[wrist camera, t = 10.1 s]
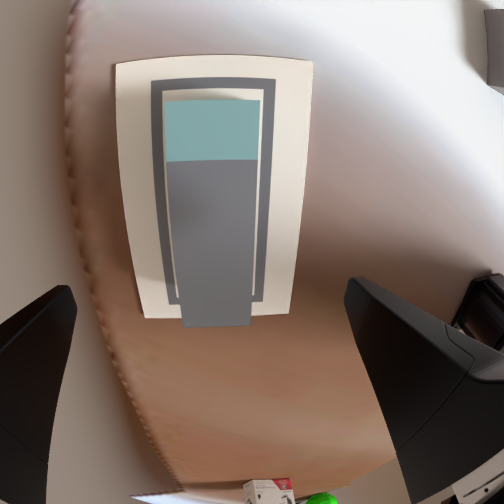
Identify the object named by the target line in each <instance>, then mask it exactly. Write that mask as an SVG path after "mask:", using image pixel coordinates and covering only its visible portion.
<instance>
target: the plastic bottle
mask: <svg viewBox="0 0 504 504" xmlns="http://www.w3.org/2000/svg"><path fill="white" fill-rule="evenodd" d="M306 504H337V500H336V498H335V497H334V496H333V495H330V494H327V493H321V494H317V495H314V496H311V497H310V499H309V500H308V501H307V502H306Z"/></svg>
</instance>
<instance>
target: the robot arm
mask: <svg viewBox="0 0 504 504" xmlns="http://www.w3.org/2000/svg"><path fill="white" fill-rule="evenodd" d="M344 305H345V308H346V312H347V315H348V318H349V322H350V325H351V329H352V332H353V336H354V339H355V342H356V345H357V348H358V350H359V353H360V355H361V358H362V360H363V363H364V365H365V368H366V370H367V373H368V375H369V378H370V381H371V383H372V386H373V389H374V391H375V394H376V397H377V399H378V402H379V405H380V407H381V410H382V413H383V416H384V419H385V422H386V424H387V427H388V430H389V433H390V436H391V439H392V442H393V445H394V448H395V451H396V455H397V458H398V461H399V464H400V467H401V471H402V474H403V477H404V480H405V484H406V487H407V491H408V494H409V498H410V501H411V504H417V503H419V502H421V501H423V500H425V499H427V498H429V497H431V496H433V495H434V494H436V493H438V492H440V491H442V490H443V489H445V488H447V487H449V486H450V485H452V487H453V490H454V492H455V494H454V495H452V496H450V497H449V498H447V499H445V500H444V501H442V502H441V504H504V276H503V275H497V276H491V277H485V278H479V279H474V280H473V281H472V283H471V285H470V287H469V290H468V292H467V294H466V296H465V298H464V300H463V303H462V305H461V307H460V309H459V311H458V313H457V315H456V317H455V319H454V321H453V323H452V325H451V326H450V325H448V324H446V323H445V324H444V322H443V321H441V320H439V319H437V318H436V317H434V316H432V315H431V314H429V313H427V312H425V311H424V310H422V309H420V308H418V307H417V306H415V305H413V304H411V303H409V302H408V301H406V300H404V299H402V298H401V297H399V296H397V295H395V294H393V293H392V292H390V291H388V290H386V289H384V288H383V287H381V286H379V285H377V284H375V283H374V282H372V281H370V280H368V279H366V278H365V277H363V276H355V277H351V278H350V279H349V281H348V284H347V288H346V292H345V296H344ZM76 315H77V305H76V302H75V299H74V297H73V294H72V291H71V289H70V287H69V286H68V285H57V286H56V287H54V288H53V289H51V290H50V291H48V292H47V293H45V294H43V295H42V296H41V297H39V298H37V299H36V300H34V301H33V302H32V303H30V304H29V305H27V306H26V307H24V308H23V309H21V310H20V311H19V312H17V313H16V314H14V315H13V316H11V317H10V318H9V319H7V320H6V321H4V322H3V323H2V324H0V504H46V486H47V472H48V464H47V463H48V460H49V450H50V443H51V436H52V429H53V423H54V417H55V412H56V407H57V402H58V397H59V392H60V387H61V383H62V379H63V374H64V371H65V367H66V363H67V359H68V355H69V351H70V346H71V341H72V335H73V330H74V325H75V320H76ZM460 329H462V330H463V332H464V333H465V334H466V335H465V334H463V333H462V332H460V331H458V330H460Z"/></svg>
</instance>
